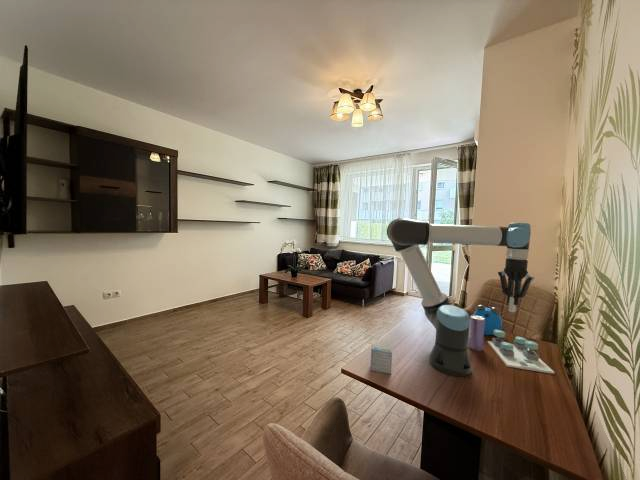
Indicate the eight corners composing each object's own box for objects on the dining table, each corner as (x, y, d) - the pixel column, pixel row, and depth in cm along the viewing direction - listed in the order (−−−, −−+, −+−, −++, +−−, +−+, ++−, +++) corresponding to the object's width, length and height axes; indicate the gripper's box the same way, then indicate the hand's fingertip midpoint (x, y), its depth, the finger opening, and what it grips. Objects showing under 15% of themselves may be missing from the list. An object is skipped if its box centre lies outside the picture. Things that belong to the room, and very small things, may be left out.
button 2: (527, 353, 108) (528, 344, 108) (522, 348, 113) (523, 340, 112) (539, 355, 107) (540, 346, 107) (534, 350, 112) (535, 341, 111)
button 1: (502, 354, 111) (503, 345, 111) (498, 349, 115) (499, 341, 115) (514, 356, 110) (515, 347, 110) (510, 351, 114) (510, 342, 114)
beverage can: (484, 352, 115) (487, 320, 114) (470, 350, 116) (473, 319, 115) (479, 346, 121) (481, 315, 120) (465, 344, 122) (468, 314, 121)
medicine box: (391, 368, 100) (392, 347, 100) (391, 374, 96) (392, 352, 95) (371, 364, 102) (371, 344, 102) (370, 370, 98) (371, 349, 98)
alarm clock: (500, 334, 134) (503, 307, 133) (500, 338, 129) (502, 310, 128) (472, 328, 142) (474, 301, 141) (471, 331, 137) (473, 304, 136)
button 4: (517, 348, 117) (517, 339, 117) (512, 343, 122) (513, 335, 121) (528, 349, 116) (529, 341, 116) (523, 345, 120) (524, 337, 120)
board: (507, 366, 104) (507, 359, 104) (487, 342, 125) (488, 336, 125) (554, 373, 100) (554, 366, 99) (525, 347, 121) (526, 341, 121)
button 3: (495, 341, 120) (495, 332, 119) (491, 337, 124) (492, 329, 123) (506, 342, 118) (506, 334, 118) (502, 338, 123) (502, 330, 122)
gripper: (539, 260, 106) (534, 315, 107) (504, 256, 117) (500, 305, 119) (530, 261, 102) (525, 317, 104) (495, 256, 113) (491, 307, 115)
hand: (512, 311), depth 111 cm, fingers closed
